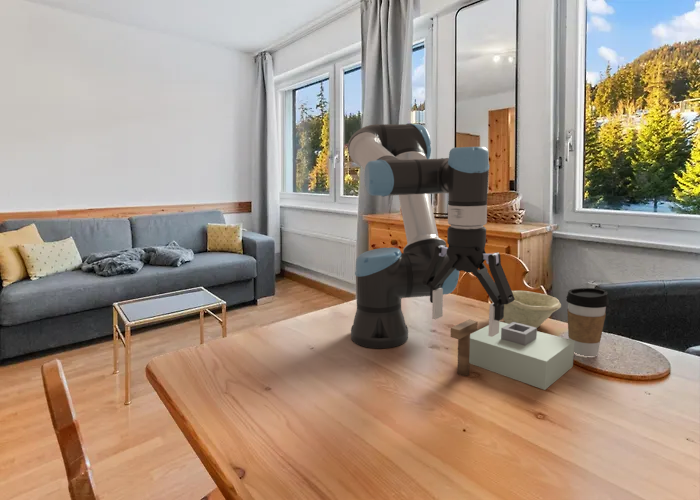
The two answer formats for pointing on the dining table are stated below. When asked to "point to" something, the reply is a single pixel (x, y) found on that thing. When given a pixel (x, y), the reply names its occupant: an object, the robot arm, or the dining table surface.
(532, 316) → the bowl
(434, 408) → the dining table surface
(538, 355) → the socket box
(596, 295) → the coffee cup
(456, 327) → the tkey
